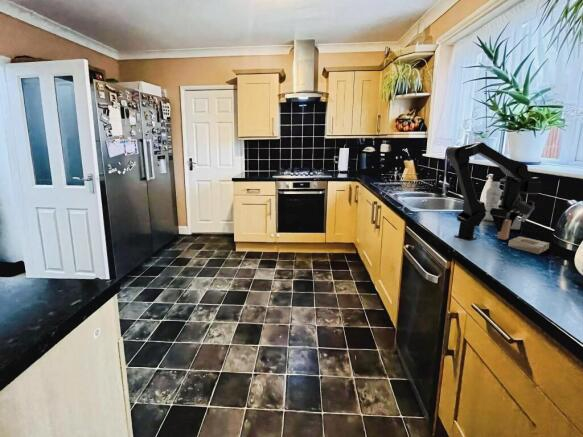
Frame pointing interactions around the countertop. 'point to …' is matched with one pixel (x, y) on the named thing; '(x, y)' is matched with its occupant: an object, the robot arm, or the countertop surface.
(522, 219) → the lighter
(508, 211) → the robot arm
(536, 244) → the socket block
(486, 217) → the plastic bottle
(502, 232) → the peg
